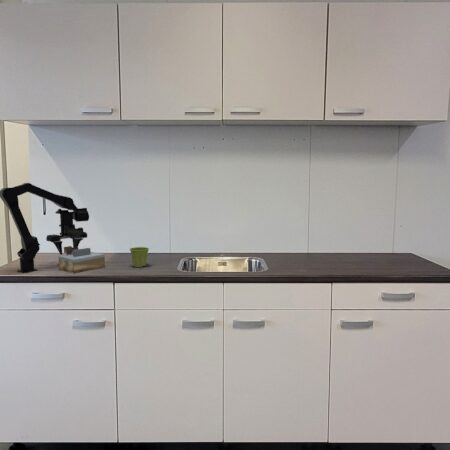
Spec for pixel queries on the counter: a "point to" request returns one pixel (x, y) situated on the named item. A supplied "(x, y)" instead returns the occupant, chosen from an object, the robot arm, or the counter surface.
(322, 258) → the counter surface
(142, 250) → the plant pot
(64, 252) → the beige long block
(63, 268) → the toolbox
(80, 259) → the lid
